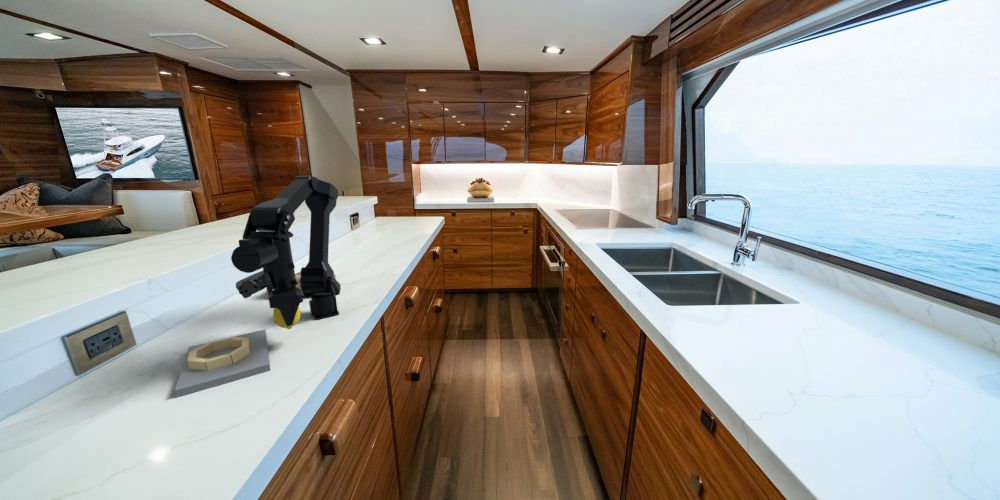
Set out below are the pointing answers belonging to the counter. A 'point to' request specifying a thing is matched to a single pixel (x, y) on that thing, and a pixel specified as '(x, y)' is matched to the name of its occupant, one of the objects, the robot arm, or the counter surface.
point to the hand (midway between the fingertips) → (288, 321)
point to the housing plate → (223, 362)
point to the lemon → (280, 320)
